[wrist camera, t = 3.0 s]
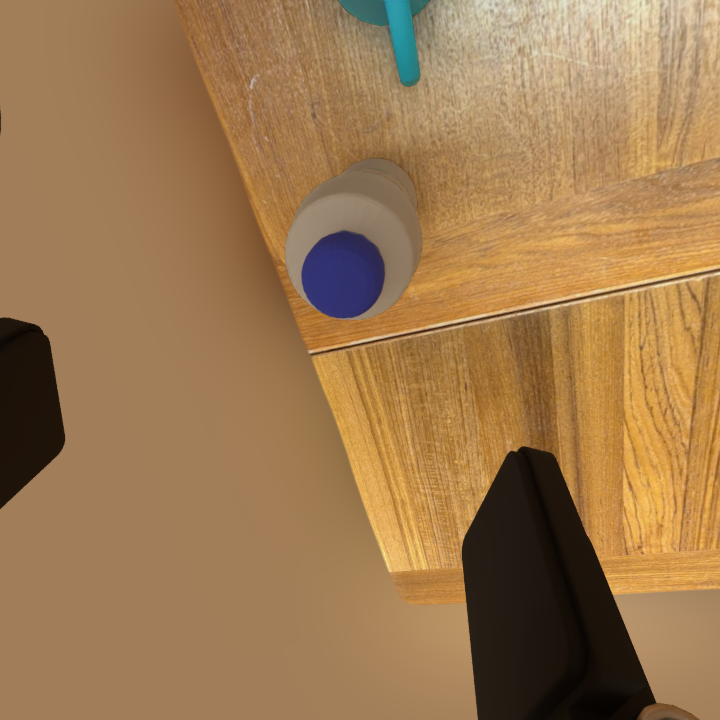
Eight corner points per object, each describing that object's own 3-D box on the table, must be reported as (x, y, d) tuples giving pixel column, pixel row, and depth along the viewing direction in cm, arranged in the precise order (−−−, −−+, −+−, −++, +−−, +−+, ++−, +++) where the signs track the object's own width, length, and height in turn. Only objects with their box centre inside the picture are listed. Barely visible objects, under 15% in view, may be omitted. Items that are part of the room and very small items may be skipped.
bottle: (433, 170, 33) (453, 232, 15) (401, 254, 36) (389, 383, 19) (348, 139, 32) (270, 166, 15) (324, 226, 36) (237, 332, 18)
